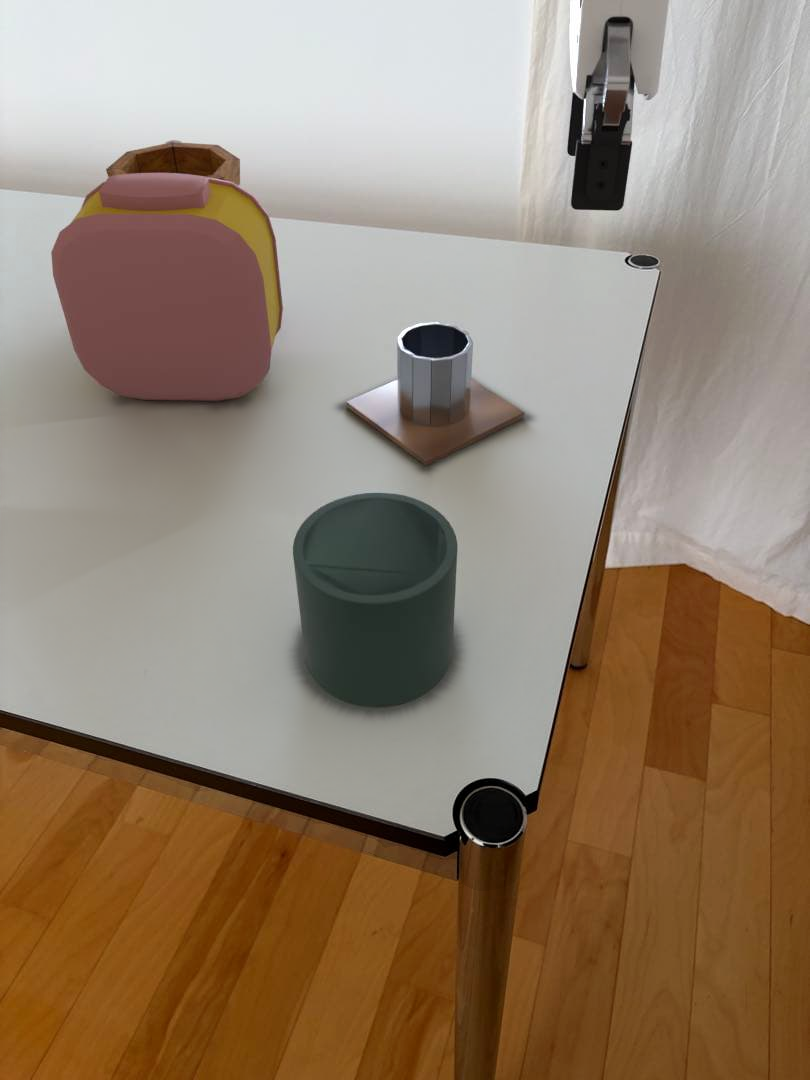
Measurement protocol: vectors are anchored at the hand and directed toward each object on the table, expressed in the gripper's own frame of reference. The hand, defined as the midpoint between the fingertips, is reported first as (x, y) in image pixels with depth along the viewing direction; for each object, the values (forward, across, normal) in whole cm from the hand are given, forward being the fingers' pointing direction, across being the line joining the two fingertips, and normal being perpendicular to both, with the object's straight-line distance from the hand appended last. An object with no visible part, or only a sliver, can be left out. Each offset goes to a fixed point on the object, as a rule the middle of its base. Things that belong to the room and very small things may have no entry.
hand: (592, 180), depth 59 cm
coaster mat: (+26, +10, +11) cm, 30 cm away
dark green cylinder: (+26, -19, +13) cm, 35 cm away
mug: (+25, +33, +41) cm, 58 cm away
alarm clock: (+25, +14, +36) cm, 46 cm away
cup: (+25, +10, +11) cm, 29 cm away
